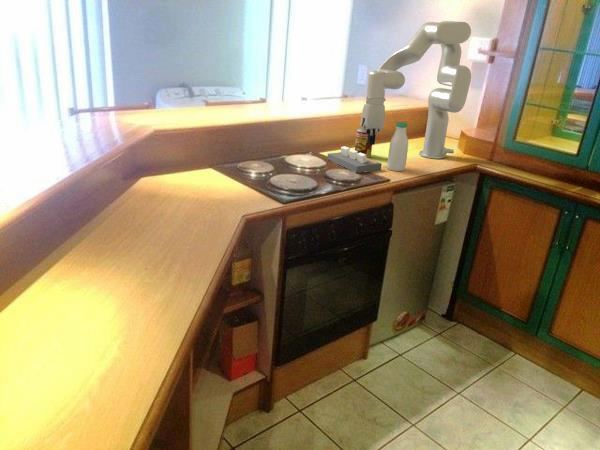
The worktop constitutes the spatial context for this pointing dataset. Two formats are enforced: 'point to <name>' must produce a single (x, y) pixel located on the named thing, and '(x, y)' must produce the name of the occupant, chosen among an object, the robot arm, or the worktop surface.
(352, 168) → the switch panel
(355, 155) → the paddle mid
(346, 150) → the paddle
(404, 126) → the milk bottle
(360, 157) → the paddle
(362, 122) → the robot arm
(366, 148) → the canned food
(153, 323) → the worktop surface
